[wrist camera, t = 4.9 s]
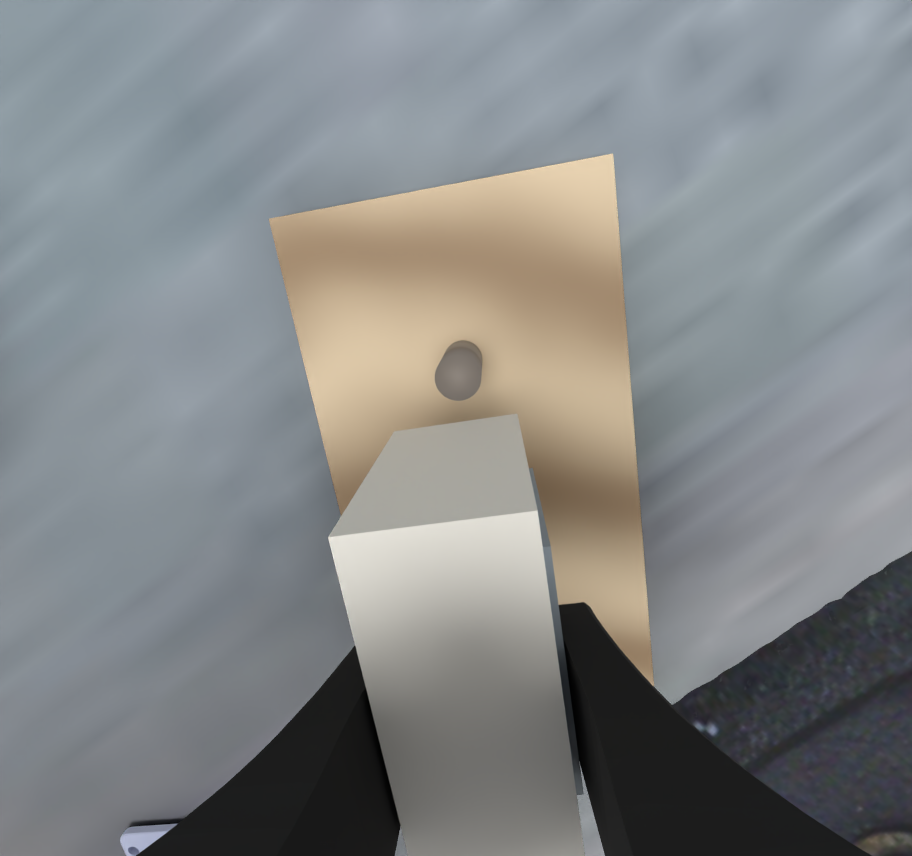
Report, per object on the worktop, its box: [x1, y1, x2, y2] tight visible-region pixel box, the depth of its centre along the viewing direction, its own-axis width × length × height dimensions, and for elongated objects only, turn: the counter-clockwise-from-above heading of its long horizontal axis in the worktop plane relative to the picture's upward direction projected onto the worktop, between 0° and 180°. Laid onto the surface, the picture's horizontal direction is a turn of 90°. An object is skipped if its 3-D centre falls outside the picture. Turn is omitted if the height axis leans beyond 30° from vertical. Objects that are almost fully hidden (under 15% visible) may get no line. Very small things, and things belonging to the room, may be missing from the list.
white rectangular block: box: [328, 414, 585, 856], centre depth 11 cm, size 7×3×6 cm, turn 9°
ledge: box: [269, 154, 654, 686], centre depth 17 cm, size 20×10×4 cm, turn 9°
